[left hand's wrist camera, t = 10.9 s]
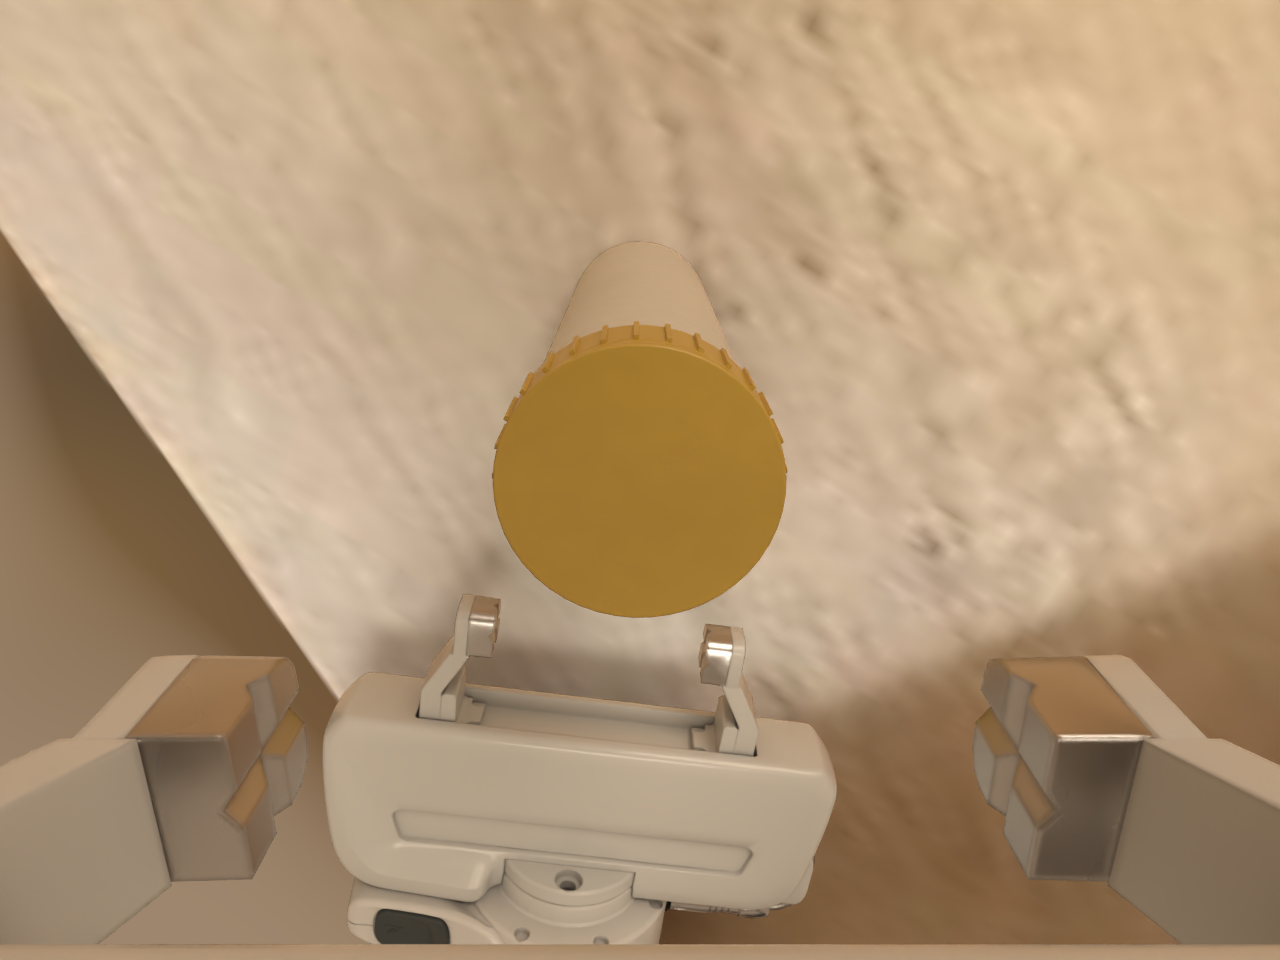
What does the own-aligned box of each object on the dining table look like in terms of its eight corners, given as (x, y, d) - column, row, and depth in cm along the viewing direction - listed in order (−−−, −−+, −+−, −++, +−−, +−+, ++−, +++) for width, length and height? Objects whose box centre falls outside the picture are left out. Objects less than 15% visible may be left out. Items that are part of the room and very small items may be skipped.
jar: (723, 348, 36) (805, 553, 18) (601, 391, 36) (564, 630, 19) (680, 221, 34) (725, 309, 16) (553, 268, 35) (462, 403, 17)
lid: (809, 532, 19) (826, 570, 18) (562, 610, 20) (555, 656, 18) (728, 279, 17) (738, 294, 16) (458, 377, 18) (439, 402, 16)
